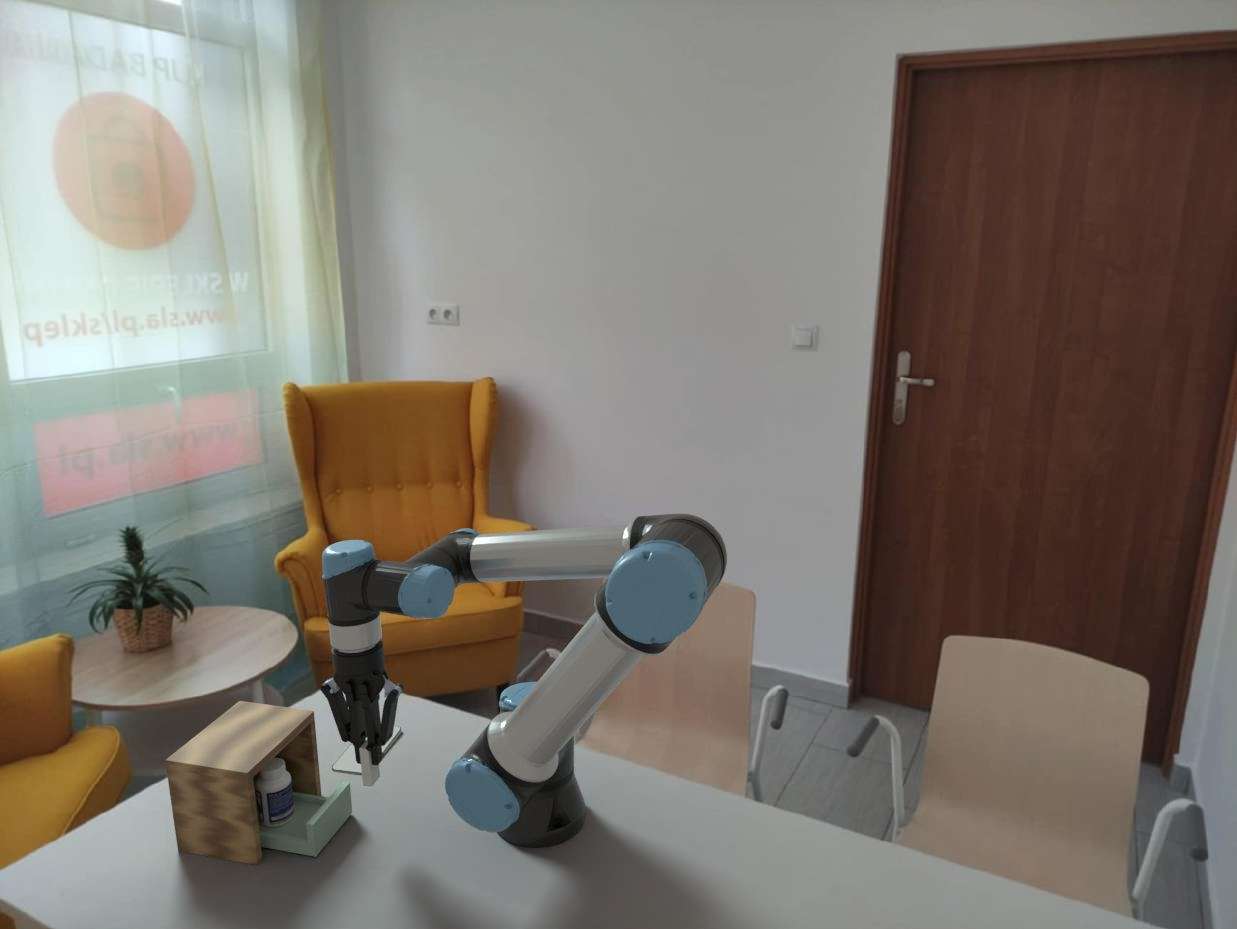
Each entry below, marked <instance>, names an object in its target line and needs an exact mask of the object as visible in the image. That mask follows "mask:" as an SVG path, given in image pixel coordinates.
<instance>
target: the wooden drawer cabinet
mask: <svg viewBox="0 0 1237 929" xmlns="http://www.w3.org/2000/svg"><path fill="white" fill-rule="evenodd" d="M316 731H317V730H316V718H315V711H314V710H308V709H301V708H294V707H288V706H280V705H271V704H265V703H259V702H250V701H245V700H239V701H238V702H236V703H235V704H234V705H232V706H231V707H230V708H229V709H227V710H226V711H225V712H224V713H222V714H221V715H220V716H218V717H217V718H216V719H215V720H214V721H212V722H211V723H210V724H208V725H207V726H206V727H205V728H204V729H202V730H201V731H200V732H198V733H197V734H196V735H195V736H194V737H192V738H191V739H190V740H188V741H187V742H186V743H185V744H183V745H182V746H181V747H180V748H178V749H176V750H175V752H173V753H172V754H171V755H169V756H168V757H167V758H166V759H165V760H164V761H165V767H166V774H167V775H166V776H167V782H168V789H169V795H170V802H171V803H170V804H171V811H172V817H173V818H172V819H173V825H174V832H175V839H176V846H177V847H176V848H177V851H178V852H183V853H190V854H193V855H194V854H195V855H199V856H204V857H210V858H214V859H215V858H217V859H223V860H226V861H233V862H238V863H243V864H247V865H248V864H249V865H254V866H259V865H260V864H261V862H263V852H262V847H261V843H260V834H259V825H258V816H257V807H256V798H255V789H254V786H255V783H256V780H257V778H258V777H259V771H260V770H261V769H262V768H263V767H265V766H266V765H267V764H268V763H269V762H270V761H271V760H272V759H273V758H281V759H283V760H284V761H285V767H286V771H288V772H289V773H290V775H291V782H292V792H298V793H304V794H310V795H316V796H322V787H321V786H322V784H321V775H320V764H319V763H320V762H319V753H318V752H319V751H318V742H317V740H318V739H317V733H316Z"/></svg>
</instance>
